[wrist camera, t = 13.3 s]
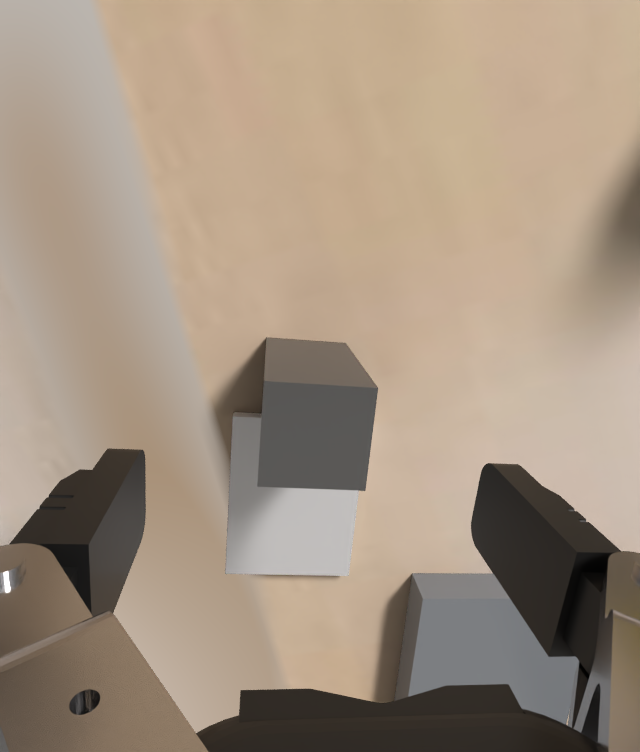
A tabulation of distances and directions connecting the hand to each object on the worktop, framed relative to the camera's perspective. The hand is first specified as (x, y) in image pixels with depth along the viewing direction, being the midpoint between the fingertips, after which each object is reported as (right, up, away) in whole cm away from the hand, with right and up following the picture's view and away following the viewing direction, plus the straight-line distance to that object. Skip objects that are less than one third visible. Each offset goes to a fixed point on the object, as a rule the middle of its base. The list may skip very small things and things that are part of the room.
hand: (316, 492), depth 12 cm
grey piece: (-1, -1, +12) cm, 12 cm away
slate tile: (+9, -8, +13) cm, 18 cm away
